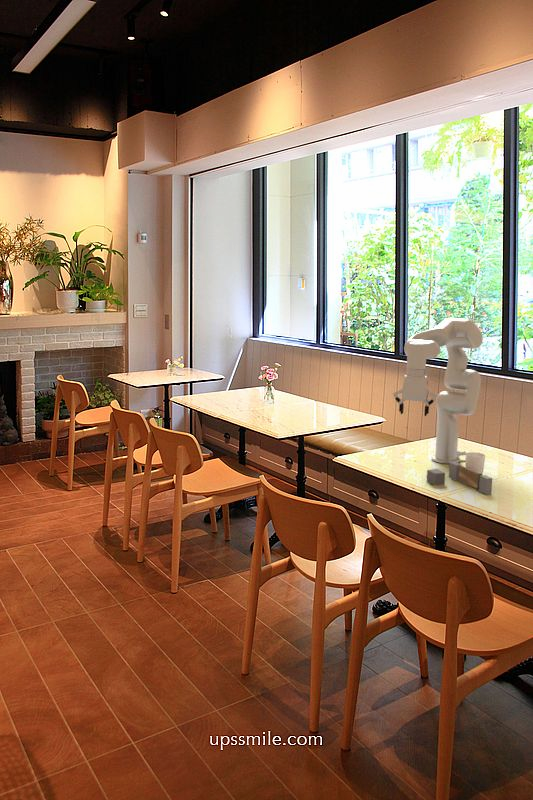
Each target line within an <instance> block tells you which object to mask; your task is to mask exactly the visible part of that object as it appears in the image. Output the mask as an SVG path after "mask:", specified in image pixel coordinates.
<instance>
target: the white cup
mask: <svg viewBox="0 0 533 800" xmlns="http://www.w3.org/2000/svg"><path fill="white" fill-rule="evenodd" d="M485 460H486V454H484V453H482V452H475V451H474V452H472V451H470V452H466V455H465V466H464V467H466V468H469V469H471V470H473V471H475V472H478V473H481V474H482V475H484V469H485V462H486V461H485Z"/></svg>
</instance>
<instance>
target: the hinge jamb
mask: <svg viewBox="0 0 533 800" xmlns="http://www.w3.org/2000/svg"><path fill="white" fill-rule="evenodd" d="M492 488H493V477H490V476H488V475H486V474H483V475H481V476H480V482H479V490H478V492H479V493H482V494H483V495H486V496H487V495H489V496H490V495H492Z"/></svg>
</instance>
